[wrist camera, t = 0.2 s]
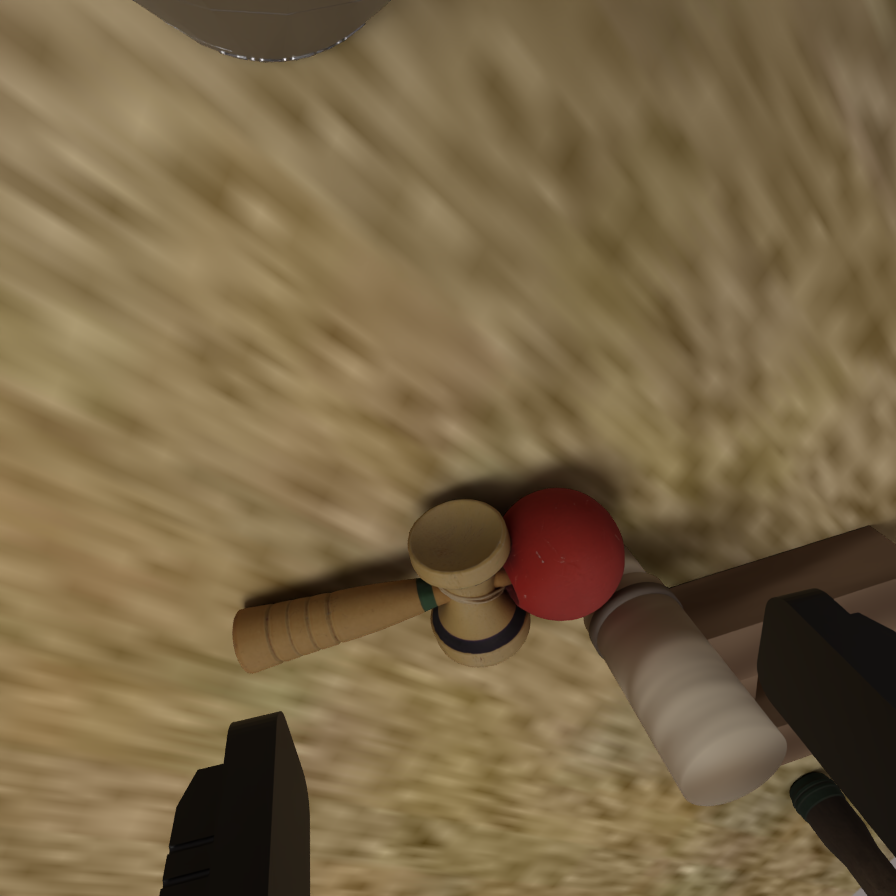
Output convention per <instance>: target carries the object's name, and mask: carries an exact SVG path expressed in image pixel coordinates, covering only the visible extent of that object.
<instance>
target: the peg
mask: <svg viewBox="0 0 896 896" xmlns="http://www.w3.org/2000/svg"><path fill="white" fill-rule="evenodd" d="M624 551H625V567H624V572H623V576H622V579H621V581H620V583H619V585H618V587H617V589H616V590H615V592H614V594H613V595H612V596H611V598H610V599H609V600H608V601H607V602H606V603H605V604H604V605H603V606H601V607H600V608H599V609H597V610H596V611H594V612H593V613H591V614H589V615H587V616H585V617H584V624H585V627H586V629H587V631H588V632H589V636H590V639H591V642H592V643H593V645H594V647H595V649H596V650H597V652H598V654H599V655H600V656H601V657H602V658H603V659H604V660H605V662H606V663H607V665H608V667H609V669H610V670H611V672H612V674H613V675H614V677H615V679H616V681H617V682H618V684H619V686H620V687H621V689H622V691H623V693H624V694H625V696H626V698H627V700H628V701H629V703H630V705H631V706H632V708H633V710H634V712H635V713H636V715H637V717H638V718H639V720H640V722H641V724H642V725H643V727H644V729H645V731H646V732H647V734H648V736H649V737H650V739H651V741H652V743H653V744H654V746H655V748H656V749H657V751H658V753H659V755H660V756H661V758H662V760H663V762H664V763H665V765H666V767H667V768H668V770H669V772H670V774H671V775H672V777H673V779H674V780H675V782H676V784H677V786H678V787H679V789H680V791H681V793H682V794H683V796H684V797H685V799H686V800H687V801H689V802H690V803H692V804H695V805H700V806H714V805H720V804H724V803H727V802H731V801H733V800H736V799H738V798H740V797H743V796H745V795H746V794H748V793H750V792H752V791H753V790H755V789H756V788H758V787H759V786H761V785H762V784H763V783H764V782H766V781H767V780H768V779H769V778H770V777H771V776H772V775H773V774H774V773H775V772H776V771H777V769H778V768H779V767H780V765H781V763H782V762H783V760H784V758H785V755H786V751H787V742H786V740H785V738H784V736H783V735H782V734H781V733H780V731H779V730H778V729H777V727H776V726H775V725H774V724H773V722H772V721H771V720H770V719H769V717H768V716H767V715H766V714H765V712H764V711H763V710H762V708H761V707H760V706H759V705H758V703H757V702H756V701H755V700H754V698H753V697H752V696H751V695H750V693H749V692H748V691H747V690H746V688H745V687H744V686H743V684H742V683H741V682H740V681H739V679H738V678H737V677H736V676H735V674H734V673H733V672H732V671H731V669H730V668H729V667H728V665H727V664H726V663H725V662H724V660H723V659H722V658H721V657H720V655H719V654H718V653H717V652H716V650H715V649H714V648H713V647H712V645H711V644H710V643H709V641H708V640H707V639H706V638H705V636H704V635H703V634H702V633H701V631H700V630H699V629H698V628H697V626H696V625H695V624H694V623H693V621H692V620H691V619H690V617H689V616H688V615H687V614H686V612H685V611H684V610H683V607H682V605H681V603H680V601H679V600H678V599H677V598H676V596H675V595H674V594H673V593H672V591H671V590H670V589H669V588H668V587H666V586H664V585H663V583H662V582H661V581H660V580H659V579H658V578H657V577H655V576H654V575H651V574H649V573H646V571H645V570H644V569H643V568H642V566H641V565H640V564H639V562H638V561H637V560H636V558H635V557H634V556H633V555H632V553H631V552H630V551H629V549H628V548H627V547H626V546H625V545H624Z"/></svg>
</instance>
